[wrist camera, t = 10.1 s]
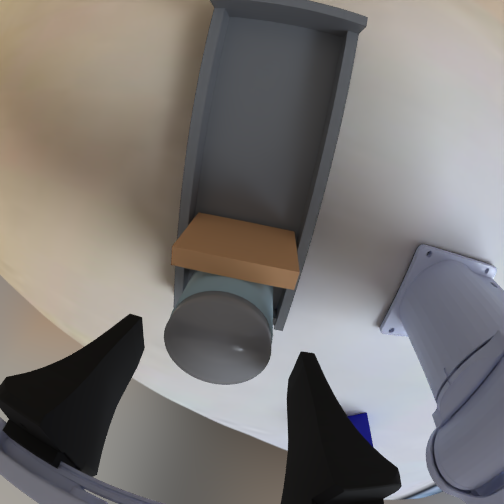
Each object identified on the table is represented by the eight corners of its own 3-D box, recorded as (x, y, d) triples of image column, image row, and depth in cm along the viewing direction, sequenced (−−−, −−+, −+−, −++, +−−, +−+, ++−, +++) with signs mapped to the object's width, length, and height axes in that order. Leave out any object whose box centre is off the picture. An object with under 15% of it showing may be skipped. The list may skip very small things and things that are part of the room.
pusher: (294, 231, 18) (299, 272, 13) (290, 246, 18) (294, 289, 14) (198, 212, 18) (172, 246, 13) (197, 227, 18) (171, 264, 13)
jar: (284, 258, 18) (290, 324, 12) (257, 319, 20) (250, 395, 13) (209, 231, 18) (173, 284, 11) (190, 296, 20) (156, 364, 13)
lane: (357, 32, 12) (373, 14, 9) (285, 317, 21) (285, 349, 18) (219, 6, 12) (206, -16, 9) (177, 295, 21) (162, 323, 18)
